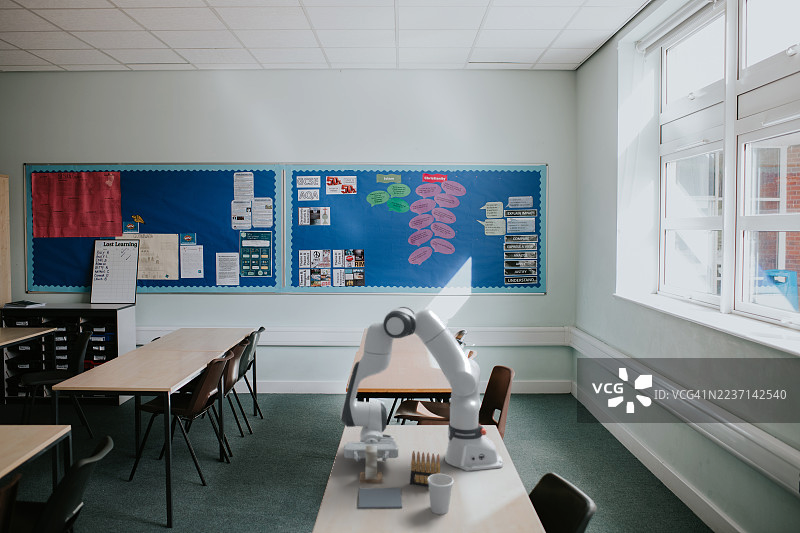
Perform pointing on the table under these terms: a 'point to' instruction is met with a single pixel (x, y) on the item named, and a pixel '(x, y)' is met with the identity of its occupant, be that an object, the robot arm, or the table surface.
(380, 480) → the pale pillar on plinth
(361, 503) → the slate mat
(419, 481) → the ammunition clip
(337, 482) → the table surface
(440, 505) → the dixie cup
